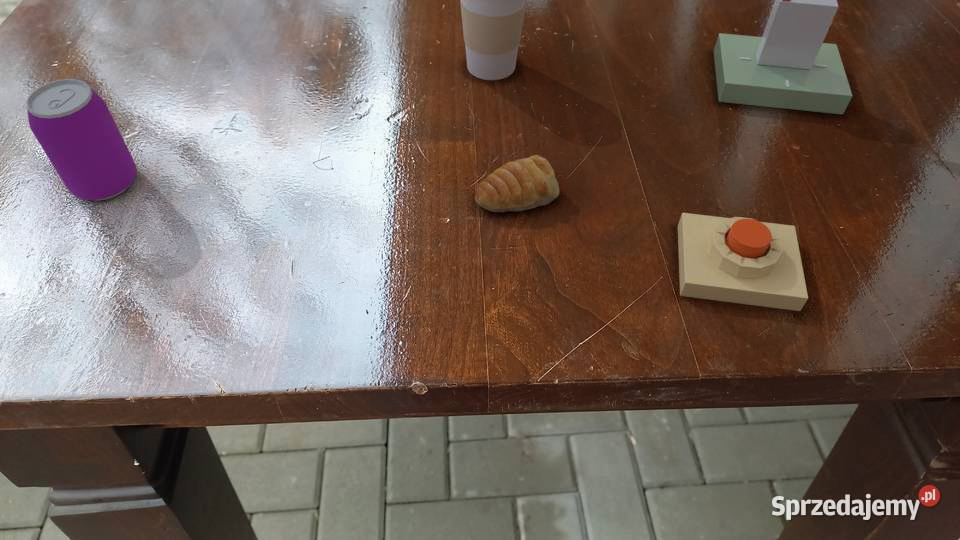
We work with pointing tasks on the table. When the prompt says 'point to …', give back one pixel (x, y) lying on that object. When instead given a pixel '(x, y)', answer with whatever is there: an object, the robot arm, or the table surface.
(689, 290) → the button box
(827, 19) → the switch lever
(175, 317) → the table surface
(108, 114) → the beverage can
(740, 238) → the button
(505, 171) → the pastry
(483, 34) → the coffee cup
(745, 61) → the panel
